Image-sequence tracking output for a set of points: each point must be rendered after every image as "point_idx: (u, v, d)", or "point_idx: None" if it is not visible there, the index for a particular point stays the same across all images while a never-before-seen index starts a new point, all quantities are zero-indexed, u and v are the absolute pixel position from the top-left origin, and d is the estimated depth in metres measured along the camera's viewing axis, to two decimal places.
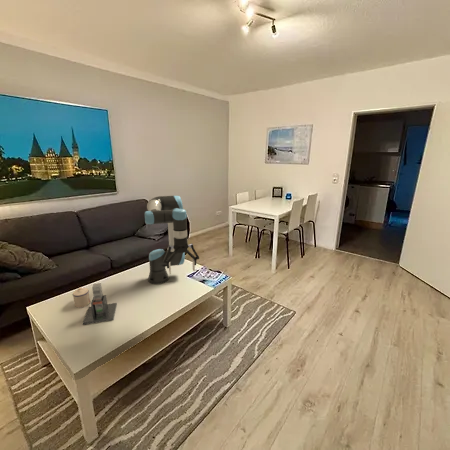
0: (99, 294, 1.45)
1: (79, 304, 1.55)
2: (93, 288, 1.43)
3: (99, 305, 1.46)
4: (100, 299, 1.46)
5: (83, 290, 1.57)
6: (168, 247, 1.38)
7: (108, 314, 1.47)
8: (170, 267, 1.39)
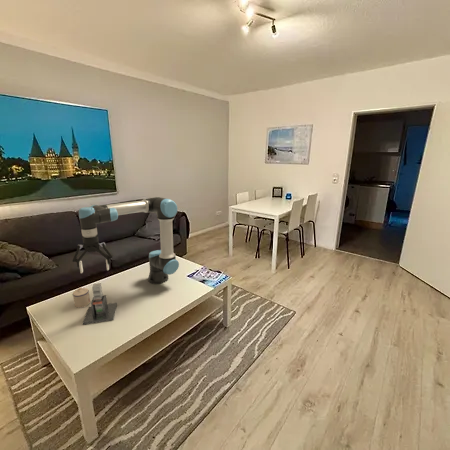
0: (99, 294, 1.45)
1: (79, 304, 1.55)
2: (93, 288, 1.43)
3: (99, 305, 1.46)
4: (100, 299, 1.46)
5: (83, 290, 1.57)
6: (77, 246, 1.36)
7: (108, 314, 1.47)
8: (80, 266, 1.38)
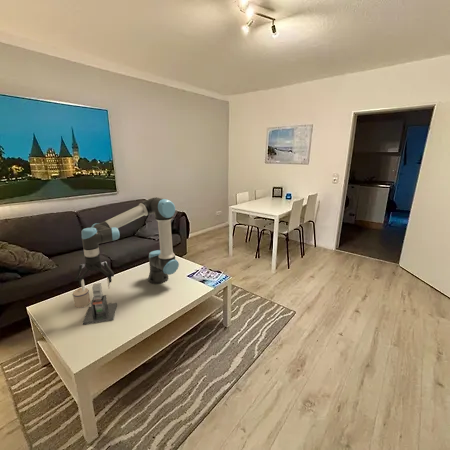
0: (99, 294, 1.45)
1: (79, 304, 1.55)
2: (93, 288, 1.43)
3: (99, 305, 1.46)
4: (100, 299, 1.46)
5: None
6: (80, 265, 1.39)
7: (108, 314, 1.47)
8: (82, 285, 1.41)
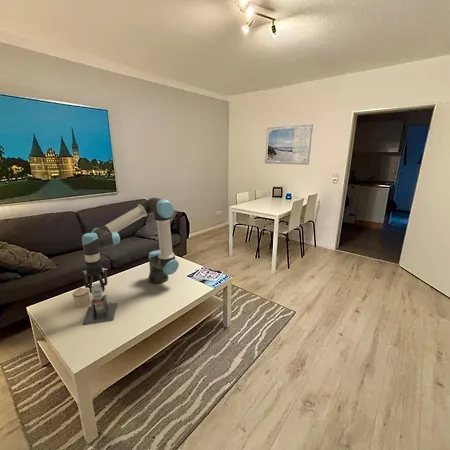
0: (99, 294, 1.45)
1: (79, 304, 1.55)
2: (93, 288, 1.43)
3: (99, 305, 1.46)
4: (100, 299, 1.46)
5: (83, 290, 1.57)
6: (82, 273, 1.41)
7: (108, 314, 1.47)
8: None
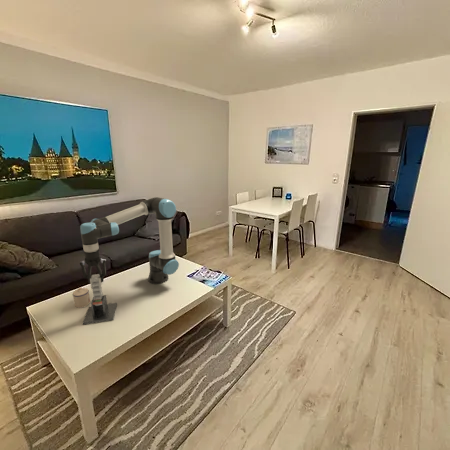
0: (98, 285, 1.43)
1: (79, 304, 1.55)
2: (92, 279, 1.41)
3: (98, 296, 1.44)
4: (99, 290, 1.44)
5: (83, 290, 1.57)
6: None
7: (108, 314, 1.47)
8: None
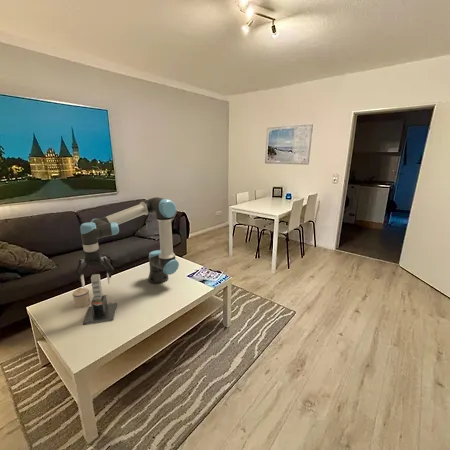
0: (98, 285, 1.43)
1: (79, 304, 1.55)
2: (92, 279, 1.41)
3: (98, 296, 1.44)
4: (99, 290, 1.44)
5: (83, 290, 1.57)
6: (79, 260, 1.39)
7: (108, 314, 1.47)
8: (82, 280, 1.40)
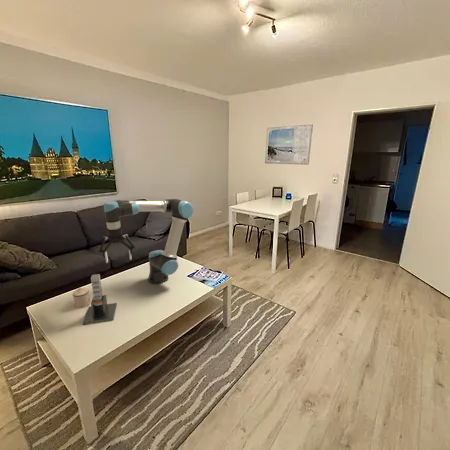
0: (98, 285, 1.43)
1: (79, 304, 1.55)
2: (92, 279, 1.41)
3: (98, 296, 1.44)
4: (99, 290, 1.44)
5: (83, 290, 1.57)
6: (103, 238, 1.47)
7: (108, 314, 1.47)
8: (106, 256, 1.49)
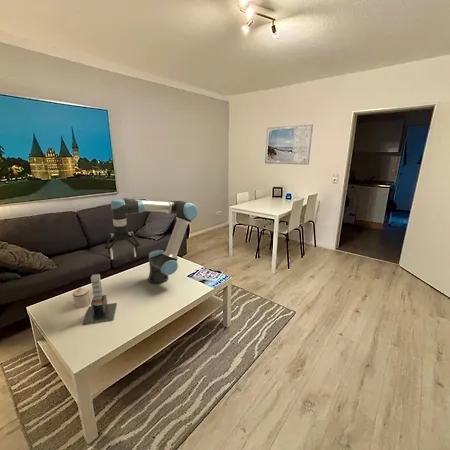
0: (98, 285, 1.43)
1: (79, 304, 1.55)
2: (92, 279, 1.41)
3: (98, 296, 1.44)
4: (99, 290, 1.44)
5: (83, 290, 1.57)
6: (109, 234, 1.50)
7: (108, 314, 1.47)
8: (111, 253, 1.52)
